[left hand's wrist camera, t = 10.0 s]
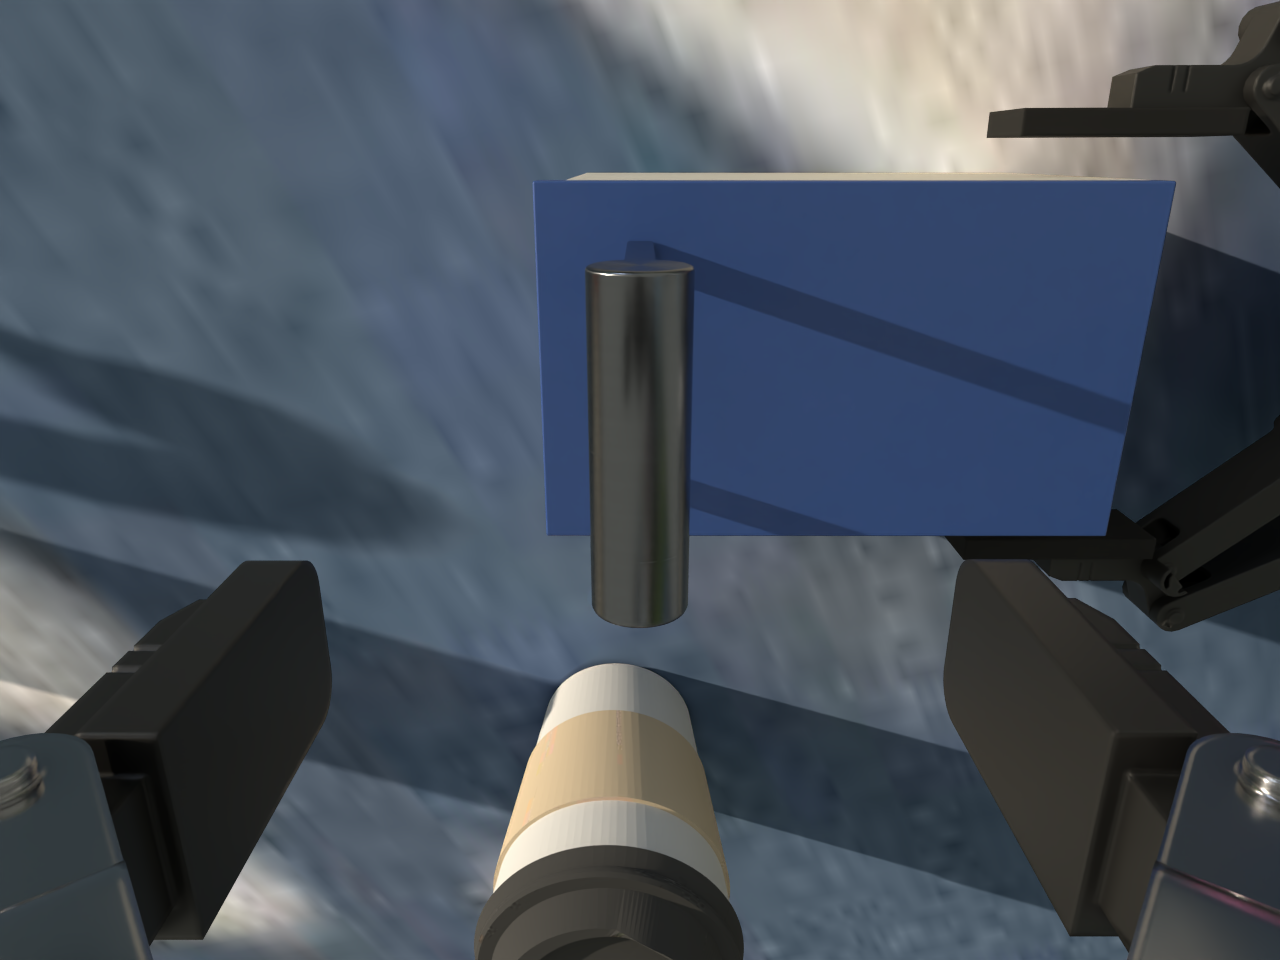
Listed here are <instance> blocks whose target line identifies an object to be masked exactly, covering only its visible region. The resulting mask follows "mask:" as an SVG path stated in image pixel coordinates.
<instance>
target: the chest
mask: <svg viewBox="0 0 1280 960" xmlns="http://www.w3.org/2000/svg"><path fill="white" fill-rule="evenodd" d="M568 180H1142V179H1121V178H1100V177H1080V176H1059V175H1039V174H1018V173H586V174H583V175H580V176H577V177H574V178H571V179H568Z"/></svg>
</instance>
